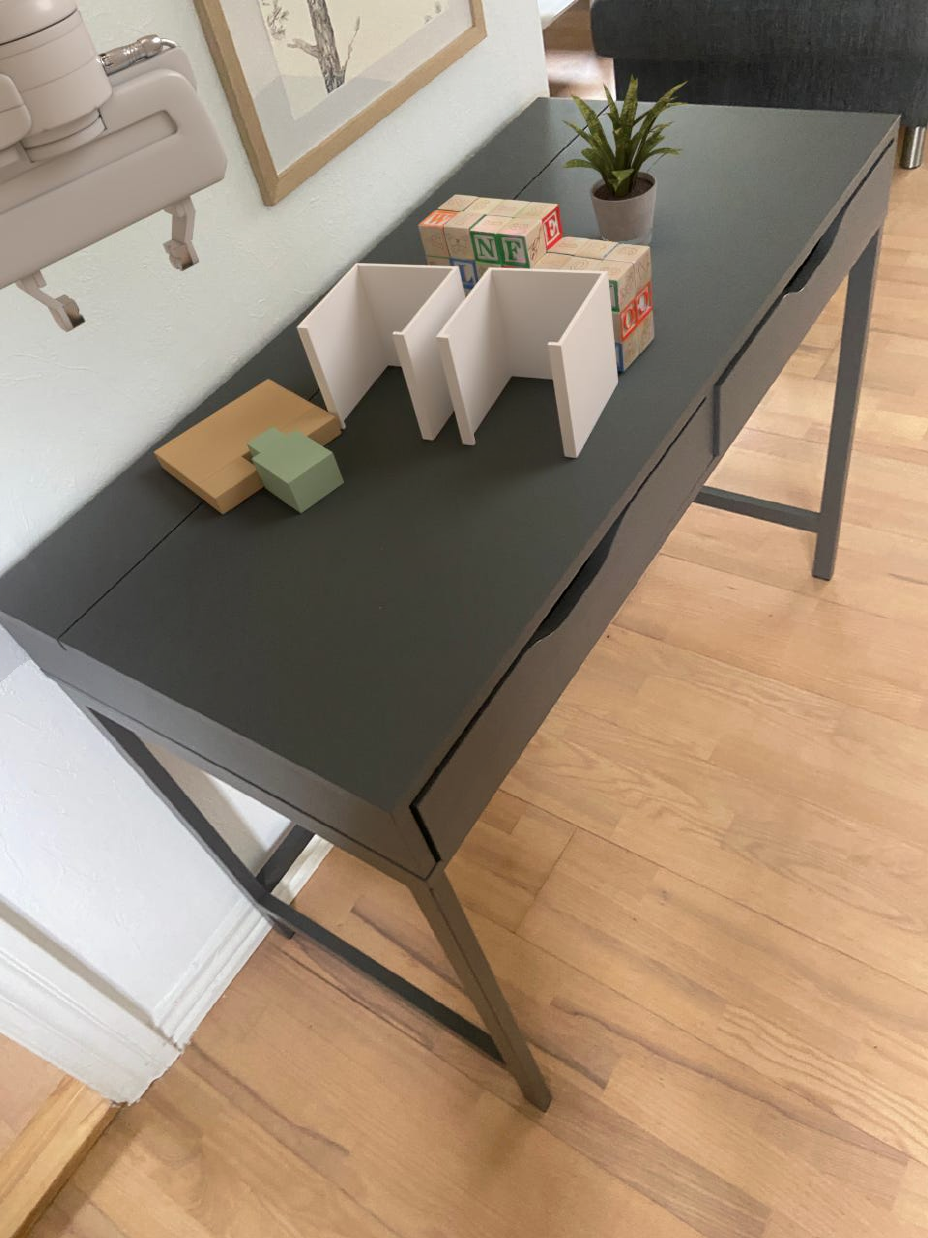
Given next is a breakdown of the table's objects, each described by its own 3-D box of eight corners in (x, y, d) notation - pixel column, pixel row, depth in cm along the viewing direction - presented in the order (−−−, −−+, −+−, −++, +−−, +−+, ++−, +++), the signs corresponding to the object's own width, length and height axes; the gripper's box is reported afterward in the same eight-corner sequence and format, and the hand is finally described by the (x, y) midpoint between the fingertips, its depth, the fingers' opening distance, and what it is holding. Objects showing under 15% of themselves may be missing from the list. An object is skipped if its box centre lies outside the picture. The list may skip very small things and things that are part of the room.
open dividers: (618, 382, 84) (607, 271, 76) (576, 458, 78) (560, 345, 70) (386, 362, 95) (356, 262, 87) (334, 428, 89) (296, 327, 81)
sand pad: (223, 515, 83) (214, 498, 82) (162, 467, 90) (153, 451, 89) (342, 433, 88) (335, 416, 86) (275, 394, 95) (268, 378, 93)
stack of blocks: (656, 338, 88) (649, 212, 79) (624, 374, 85) (613, 248, 76) (478, 305, 99) (454, 191, 90) (444, 336, 96) (415, 221, 87)
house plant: (709, 265, 94) (709, 95, 83) (575, 290, 96) (556, 128, 85) (687, 205, 104) (684, 45, 92) (566, 229, 106) (547, 75, 94)
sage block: (301, 513, 81) (287, 483, 78) (251, 478, 86) (237, 449, 83) (344, 482, 82) (332, 452, 80) (293, 450, 88) (280, 420, 85)
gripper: (152, 20, 61) (228, 223, 71) (-145, 140, 54) (-14, 349, 64) (199, 27, 57) (272, 241, 67) (-114, 157, 50) (20, 376, 60)
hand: (131, 294), depth 65 cm, fingers open, 8 cm apart
